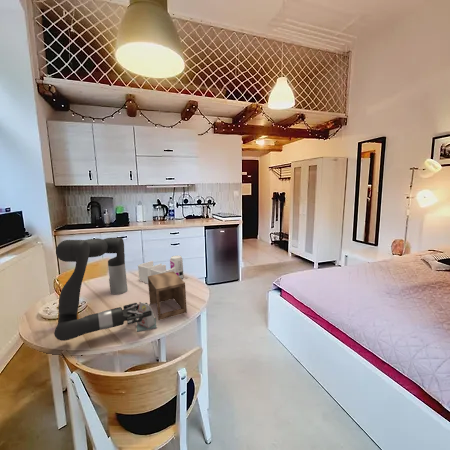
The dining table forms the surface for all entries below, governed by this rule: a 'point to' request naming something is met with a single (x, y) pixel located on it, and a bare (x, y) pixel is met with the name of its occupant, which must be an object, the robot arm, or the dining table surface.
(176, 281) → the hutch
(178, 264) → the supplement can
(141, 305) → the tea bag
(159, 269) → the storage container
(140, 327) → the mat
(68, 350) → the dining table surface
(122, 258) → the robot arm
